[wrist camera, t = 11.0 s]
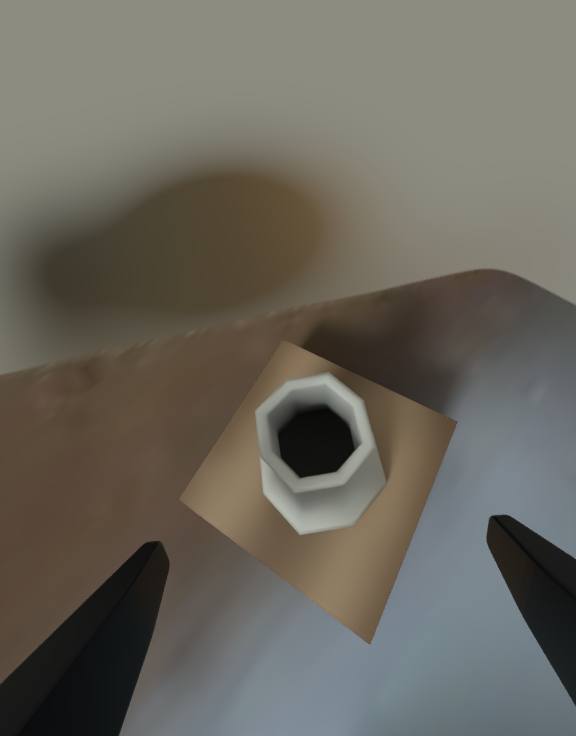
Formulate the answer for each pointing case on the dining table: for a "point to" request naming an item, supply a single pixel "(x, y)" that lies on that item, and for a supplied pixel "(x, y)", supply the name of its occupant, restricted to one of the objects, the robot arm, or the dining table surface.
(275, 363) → the light brown square board
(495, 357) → the dining table surface
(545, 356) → the dining table surface
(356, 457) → the flask
